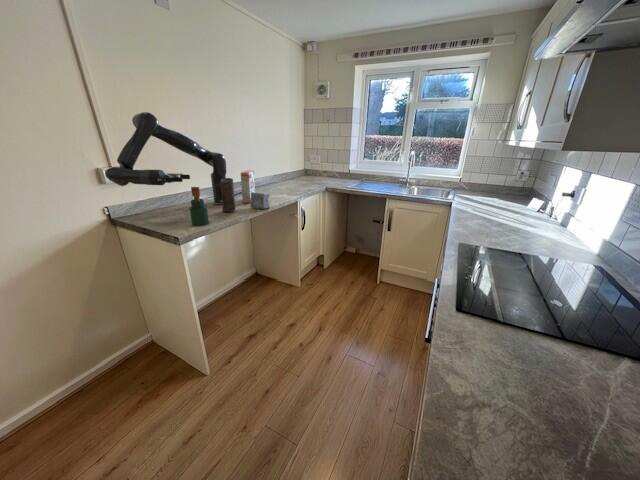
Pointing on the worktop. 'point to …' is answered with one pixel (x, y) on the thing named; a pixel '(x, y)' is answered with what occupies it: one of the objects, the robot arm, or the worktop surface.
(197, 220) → the bottle
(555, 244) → the worktop surface
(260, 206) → the incense holder
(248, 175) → the cracker box
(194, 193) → the wooden spoon
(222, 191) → the candle
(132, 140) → the robot arm
